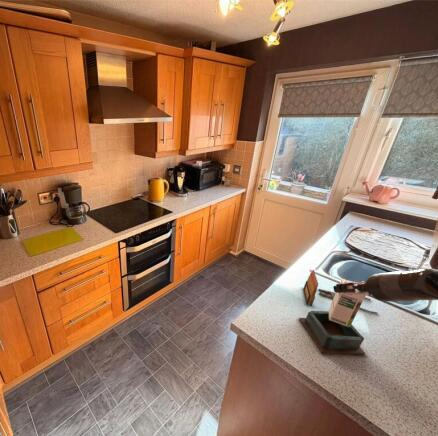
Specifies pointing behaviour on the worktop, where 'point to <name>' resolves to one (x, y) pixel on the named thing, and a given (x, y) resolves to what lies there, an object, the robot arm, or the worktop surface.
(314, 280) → the orange brown flat panel
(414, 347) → the worktop surface
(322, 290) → the pliers
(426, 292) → the robot arm
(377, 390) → the worktop surface
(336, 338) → the holder
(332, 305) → the syrup box
